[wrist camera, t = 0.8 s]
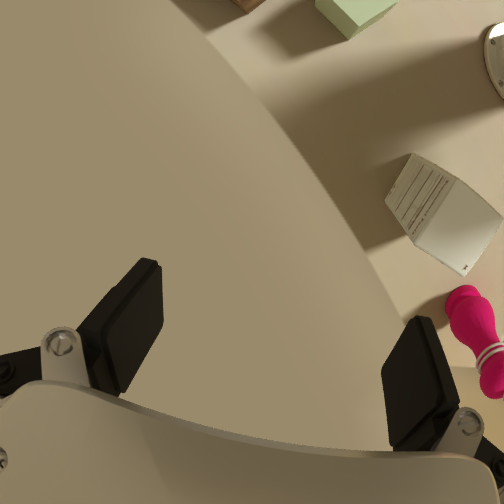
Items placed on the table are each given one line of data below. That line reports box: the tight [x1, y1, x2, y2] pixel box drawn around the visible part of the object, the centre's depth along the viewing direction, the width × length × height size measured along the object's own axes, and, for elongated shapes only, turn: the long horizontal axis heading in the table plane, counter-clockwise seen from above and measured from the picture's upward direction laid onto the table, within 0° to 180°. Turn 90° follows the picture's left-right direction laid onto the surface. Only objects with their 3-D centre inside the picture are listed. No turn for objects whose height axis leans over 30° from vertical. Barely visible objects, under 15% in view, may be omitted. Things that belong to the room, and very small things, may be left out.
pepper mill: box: [445, 285, 504, 400], centre depth 30 cm, size 7×7×20 cm
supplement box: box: [384, 153, 503, 277], centre depth 28 cm, size 7×7×13 cm
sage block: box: [315, 0, 399, 40], centre depth 22 cm, size 6×6×7 cm
